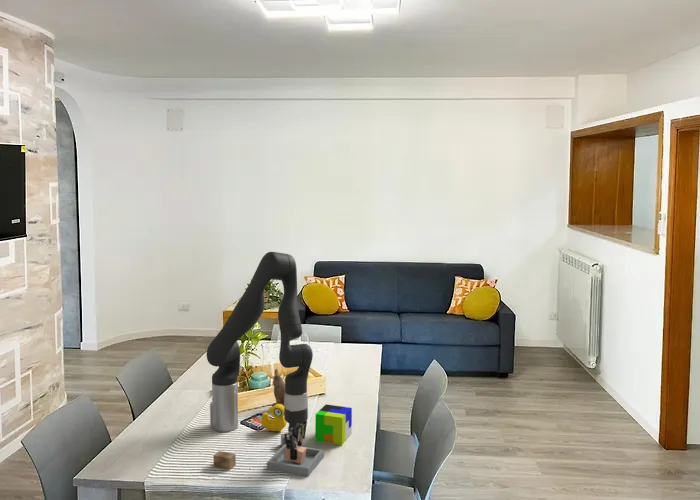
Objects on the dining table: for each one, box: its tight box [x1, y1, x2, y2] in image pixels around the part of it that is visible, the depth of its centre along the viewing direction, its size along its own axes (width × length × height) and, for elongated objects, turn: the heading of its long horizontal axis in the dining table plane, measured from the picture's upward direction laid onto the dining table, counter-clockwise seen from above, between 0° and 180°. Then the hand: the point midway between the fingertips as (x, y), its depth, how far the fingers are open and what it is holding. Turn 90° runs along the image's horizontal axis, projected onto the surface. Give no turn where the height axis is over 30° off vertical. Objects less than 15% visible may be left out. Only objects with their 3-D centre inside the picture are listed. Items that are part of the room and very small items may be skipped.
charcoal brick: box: [280, 432, 295, 447], centre depth 218 cm, size 6×4×4 cm, turn 109°
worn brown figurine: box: [270, 368, 285, 408], centre depth 251 cm, size 12×6×18 cm, turn 81°
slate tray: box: [266, 444, 325, 477], centre depth 204 cm, size 14×14×3 cm
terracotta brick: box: [284, 445, 307, 464], centre depth 204 cm, size 6×4×4 cm, turn 73°
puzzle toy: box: [314, 404, 353, 446], centre depth 224 cm, size 10×10×10 cm
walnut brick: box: [212, 450, 237, 471], centre depth 202 cm, size 6×4×4 cm, turn 70°
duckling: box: [260, 404, 288, 432], centre depth 230 cm, size 11×5×10 cm, turn 82°
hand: (296, 456), depth 204 cm, fingers closed on terracotta brick, 3 cm apart
